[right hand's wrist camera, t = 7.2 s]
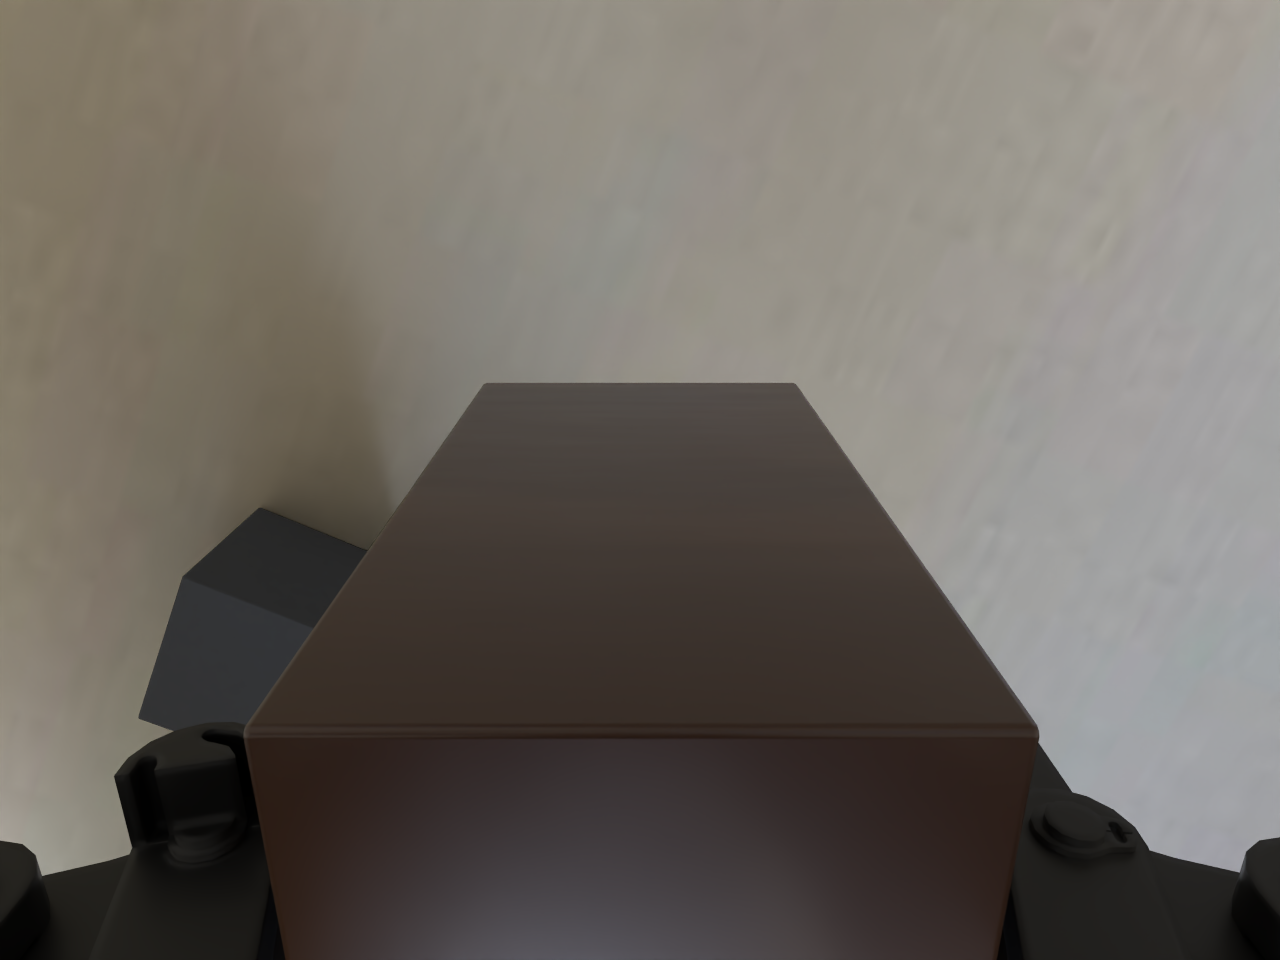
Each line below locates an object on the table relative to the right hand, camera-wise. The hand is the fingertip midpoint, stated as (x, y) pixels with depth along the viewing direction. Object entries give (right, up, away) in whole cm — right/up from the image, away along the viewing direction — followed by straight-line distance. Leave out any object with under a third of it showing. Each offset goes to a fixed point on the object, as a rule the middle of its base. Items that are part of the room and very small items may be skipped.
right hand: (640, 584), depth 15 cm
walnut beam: (0, -8, +3) cm, 9 cm away
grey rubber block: (-11, -2, +14) cm, 18 cm away
